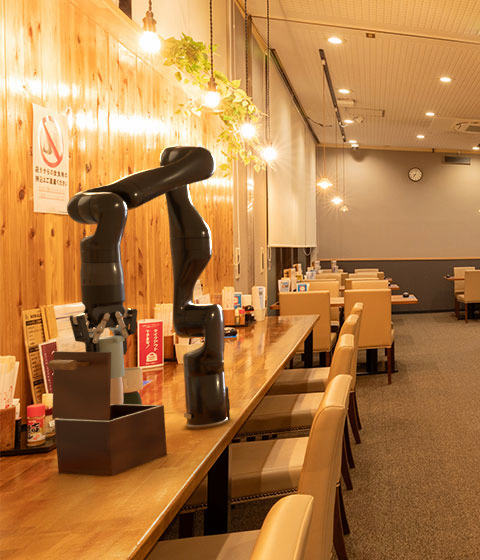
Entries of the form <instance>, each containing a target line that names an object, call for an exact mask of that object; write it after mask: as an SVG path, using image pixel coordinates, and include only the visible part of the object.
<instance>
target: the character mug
mask: <svg viewBox="0 0 480 560" xmlns="http://www.w3.org/2000/svg"><path fill="white" fill-rule="evenodd" d="M124 369H125V375H124V376H122V383H123V404H136V405H143V400H142V395H141V393H140V392H139V391H141V390H143V389H144V376H143V374H144V373H143V368H142V367H139V366H136V367H135V366H134V367H133V366H132V367H131V366H130V367H124Z"/></svg>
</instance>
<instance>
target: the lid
mask: <svg viewBox="0 0 480 560" xmlns="http://www.w3.org/2000/svg"><path fill="white" fill-rule="evenodd" d="M47 366H48V369H49V370H52V412H51V413H52V415H51V416H52V417H51V418H52V419H59V418H65V419H93V420H109V419H110V391H111V352H86V351H69V350H68V351H67V350H66V351H64V350H63V351H62V350H57V351H56V350H55V351H53V359H51V360H49V362H48V363H47Z"/></svg>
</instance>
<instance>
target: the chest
mask: <svg viewBox="0 0 480 560" xmlns="http://www.w3.org/2000/svg"><path fill="white" fill-rule="evenodd" d="M165 418H166V417H165V405H163V404H161V405H160V404H142V405H136V404H111V405H110V419H109V420H93V419H65V418H55V419H54V431H55V433H54V434H55V444H56V445H55V446H56V458H57V459H56V460H57V472H58V474H75V475H77V474H78V475H94V476H95V475H96V476H115V475H117V474H120V473H122V472H125V471H127V470H130V469H133V468H136V467H138V466H140V465H143V464H145V463H148V462H150V461H153V460H156V459H160V458H161V457H163V456H166V455H168V452H167V437H166V436H167V435H166V420H165Z"/></svg>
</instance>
